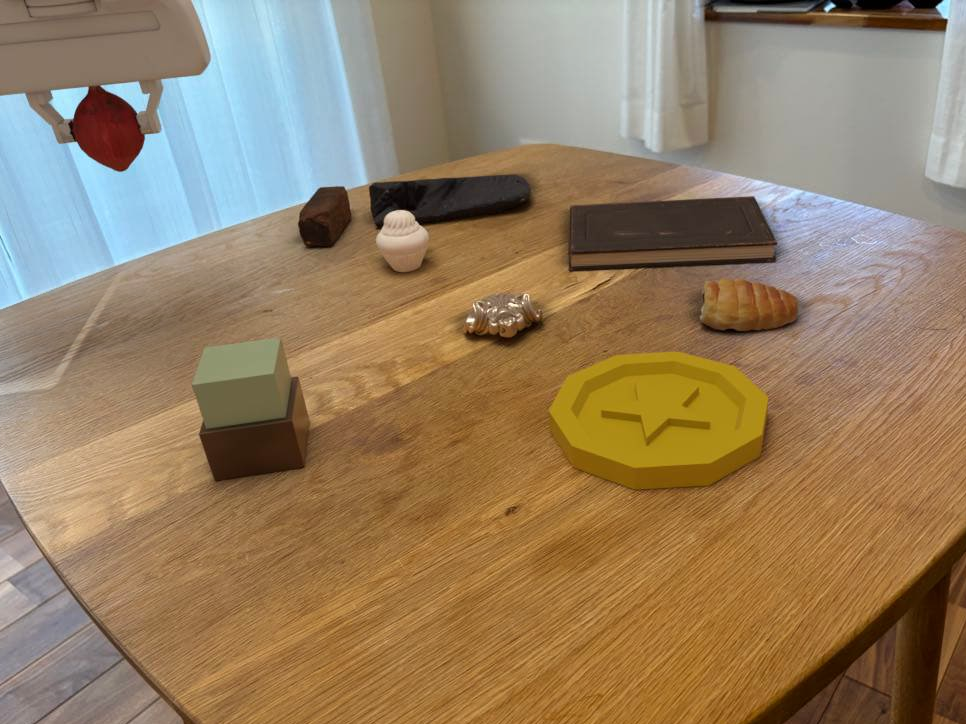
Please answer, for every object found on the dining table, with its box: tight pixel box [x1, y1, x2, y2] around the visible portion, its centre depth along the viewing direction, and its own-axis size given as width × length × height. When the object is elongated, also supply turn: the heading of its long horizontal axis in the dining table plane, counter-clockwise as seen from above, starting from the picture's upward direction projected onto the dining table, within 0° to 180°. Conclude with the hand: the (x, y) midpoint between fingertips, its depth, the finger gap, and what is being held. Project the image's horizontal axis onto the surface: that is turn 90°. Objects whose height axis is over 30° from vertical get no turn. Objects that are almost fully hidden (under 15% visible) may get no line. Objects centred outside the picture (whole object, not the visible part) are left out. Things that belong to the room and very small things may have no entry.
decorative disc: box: [548, 350, 770, 491], centre depth 69 cm, size 17×18×2 cm
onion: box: [72, 85, 146, 173], centre depth 77 cm, size 6×6×8 cm
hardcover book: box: [567, 195, 778, 272], centre depth 102 cm, size 16×23×2 cm
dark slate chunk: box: [368, 173, 531, 227], centre depth 118 cm, size 15×22×5 cm
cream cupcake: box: [375, 210, 430, 273], centre depth 100 cm, size 6×6×7 cm
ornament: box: [462, 292, 544, 338], centre depth 85 cm, size 8×7×4 cm
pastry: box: [699, 277, 799, 332], centre depth 83 cm, size 9×7×4 cm
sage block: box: [191, 336, 292, 429], centre depth 67 cm, size 6×6×4 cm
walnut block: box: [198, 375, 311, 482], centre depth 70 cm, size 7×7×4 cm
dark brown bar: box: [297, 185, 352, 248], centre depth 112 cm, size 11×4×5 cm, turn 177°
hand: (111, 137), depth 78 cm, fingers closed on onion, 6 cm apart
